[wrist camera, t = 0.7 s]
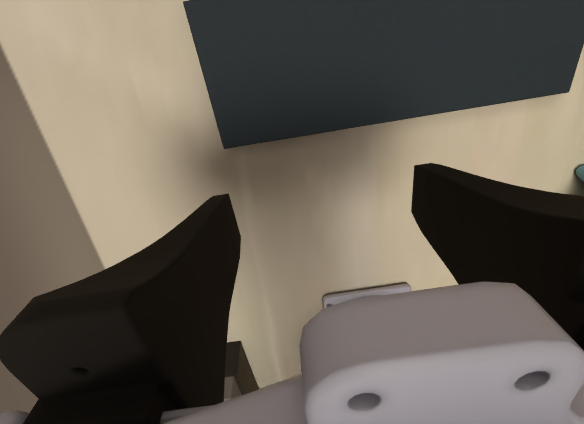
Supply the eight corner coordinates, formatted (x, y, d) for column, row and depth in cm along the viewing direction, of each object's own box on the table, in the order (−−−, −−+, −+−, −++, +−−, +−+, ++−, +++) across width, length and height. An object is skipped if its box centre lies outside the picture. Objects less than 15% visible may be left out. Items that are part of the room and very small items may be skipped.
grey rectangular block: (263, 402, 37) (262, 457, 32) (228, 407, 37) (221, 462, 33) (240, 340, 31) (234, 397, 26) (197, 346, 31) (184, 403, 26)
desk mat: (561, 90, 20) (569, 92, 19) (225, 146, 20) (224, 149, 20) (610, -76, 15) (621, -79, 15) (185, 2, 16) (182, 1, 16)
